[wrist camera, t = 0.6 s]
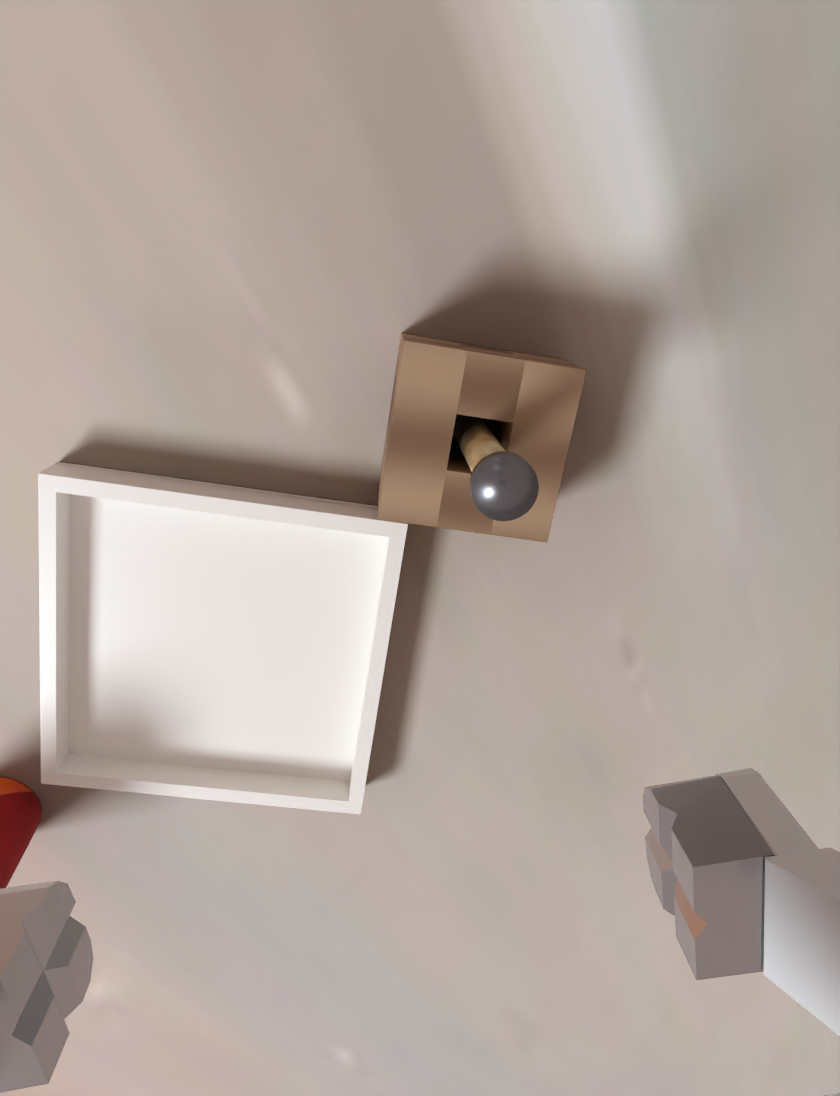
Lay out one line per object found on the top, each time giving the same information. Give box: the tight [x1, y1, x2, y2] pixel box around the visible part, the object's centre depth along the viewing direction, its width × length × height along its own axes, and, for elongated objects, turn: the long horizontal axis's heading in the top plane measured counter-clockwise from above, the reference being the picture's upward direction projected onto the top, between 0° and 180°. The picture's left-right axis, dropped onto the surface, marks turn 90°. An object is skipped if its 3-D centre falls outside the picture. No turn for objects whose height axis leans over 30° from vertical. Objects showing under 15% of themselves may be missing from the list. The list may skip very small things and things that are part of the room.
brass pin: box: [453, 414, 539, 521], centre depth 40 cm, size 3×3×15 cm
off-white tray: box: [38, 462, 408, 814], centre depth 50 cm, size 22×22×3 cm
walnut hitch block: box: [378, 333, 587, 542], centre depth 44 cm, size 10×10×6 cm
